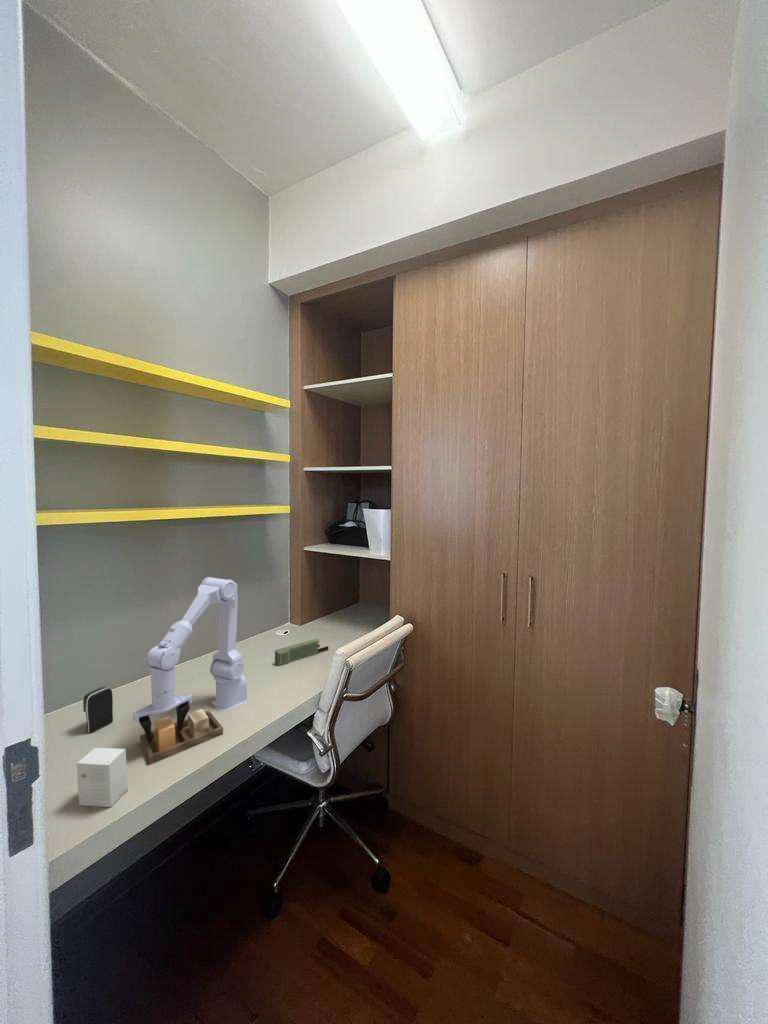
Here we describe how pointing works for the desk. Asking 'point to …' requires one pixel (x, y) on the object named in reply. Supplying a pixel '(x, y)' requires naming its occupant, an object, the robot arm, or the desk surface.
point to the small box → (102, 777)
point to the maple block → (198, 723)
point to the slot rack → (180, 740)
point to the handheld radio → (297, 652)
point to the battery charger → (98, 708)
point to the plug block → (164, 733)
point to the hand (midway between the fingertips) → (164, 735)
